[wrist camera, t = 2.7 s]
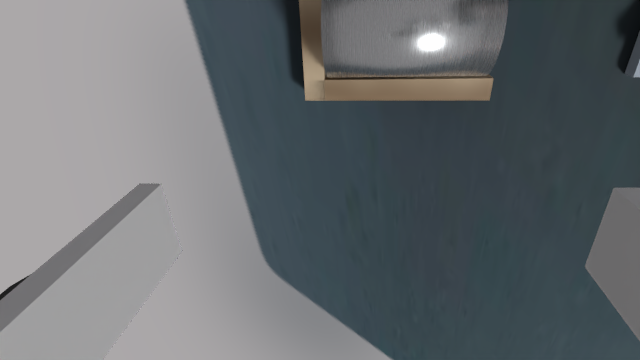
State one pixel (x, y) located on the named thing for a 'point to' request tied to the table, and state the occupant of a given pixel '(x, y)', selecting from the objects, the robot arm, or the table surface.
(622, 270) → the robot arm
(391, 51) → the grey metal cylinder
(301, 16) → the wooden flat frame
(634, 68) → the v block
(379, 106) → the table surface
